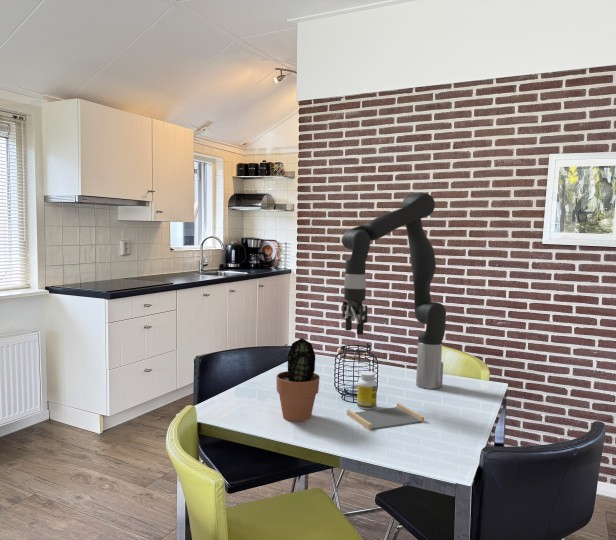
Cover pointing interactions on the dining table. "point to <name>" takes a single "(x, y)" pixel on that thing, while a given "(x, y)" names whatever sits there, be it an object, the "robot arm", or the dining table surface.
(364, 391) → the pill bottle
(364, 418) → the grey flat rectangular board
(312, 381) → the potted plant
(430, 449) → the dining table surface
